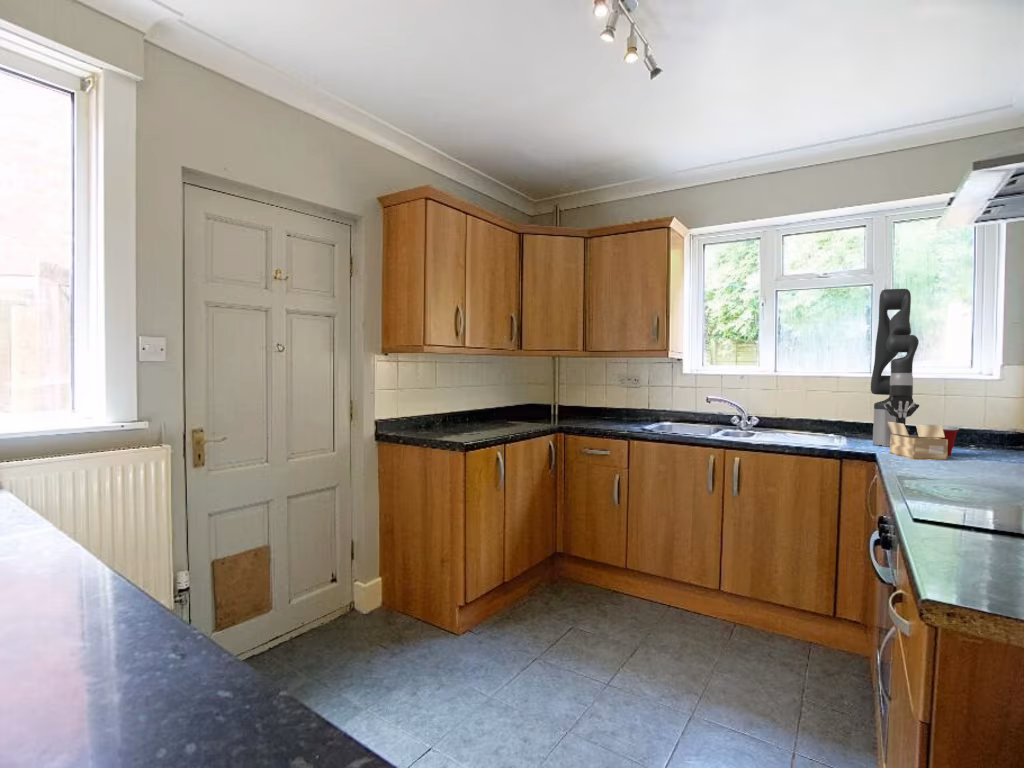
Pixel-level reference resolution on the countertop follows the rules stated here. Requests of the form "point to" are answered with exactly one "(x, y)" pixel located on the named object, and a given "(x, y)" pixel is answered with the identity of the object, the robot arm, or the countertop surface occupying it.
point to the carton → (919, 447)
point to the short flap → (930, 431)
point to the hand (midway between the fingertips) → (900, 426)
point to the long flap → (898, 428)
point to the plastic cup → (949, 436)
